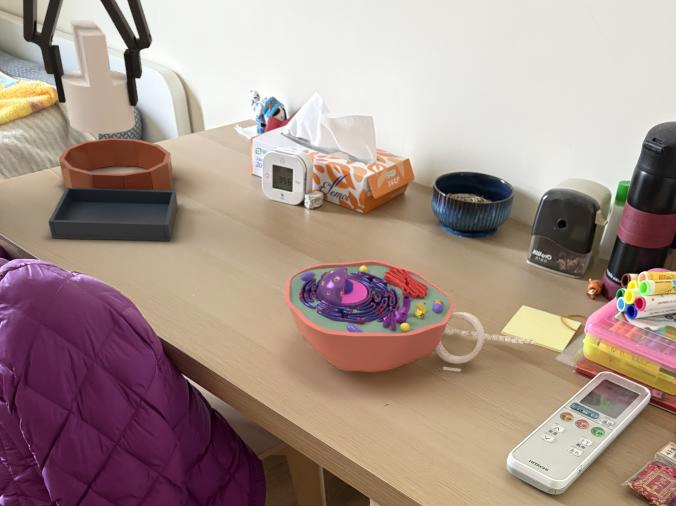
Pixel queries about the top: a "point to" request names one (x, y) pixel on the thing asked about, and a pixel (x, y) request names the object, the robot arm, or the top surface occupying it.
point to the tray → (114, 214)
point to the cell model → (367, 313)
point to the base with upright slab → (96, 85)
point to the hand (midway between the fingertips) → (99, 101)
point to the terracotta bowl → (117, 154)
